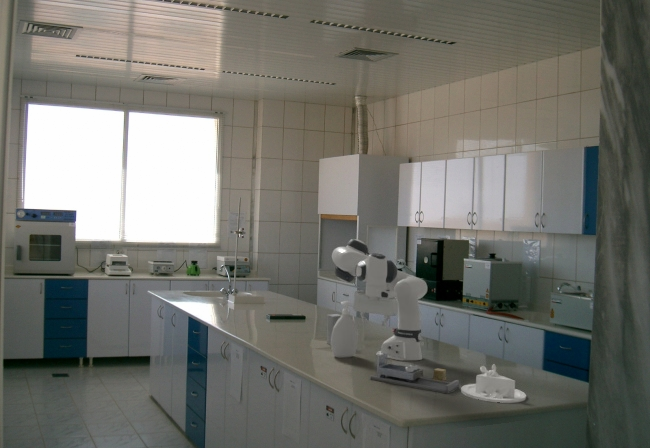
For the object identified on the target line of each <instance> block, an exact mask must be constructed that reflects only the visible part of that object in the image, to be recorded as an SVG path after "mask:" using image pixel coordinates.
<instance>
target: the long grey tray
mask: <svg viewBox="0 0 650 448" xmlns="http://www.w3.org/2000/svg"><path fill="white" fill-rule="evenodd" d="M387 354H388V353H385V354H382V355H379V356H377V357H376V358H377V360H376V375H379V374H381V375H380V377H381V378H385V375H387V376H392V377H398V378H403V379H408V380H407V382H409V383H412V380H418V379H419V378H420V377H421V378H422V377H423V376H424V374H423V373H424V369H422V368H418V371H416V372H414V373H410V372H405V367H407V366H405V365H399V364H394V363H388V358H387Z"/></svg>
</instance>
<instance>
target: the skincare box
mask: <svg viewBox="0 0 650 448" xmlns="http://www.w3.org/2000/svg"><path fill="white" fill-rule="evenodd" d="M341 316H342V314H339V313H334V314H326V344H327V345H330V346H331V336H332V331H333V327H334V326H335V324H336V322H337V320H338V319H339V318H340V317H341Z"/></svg>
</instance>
